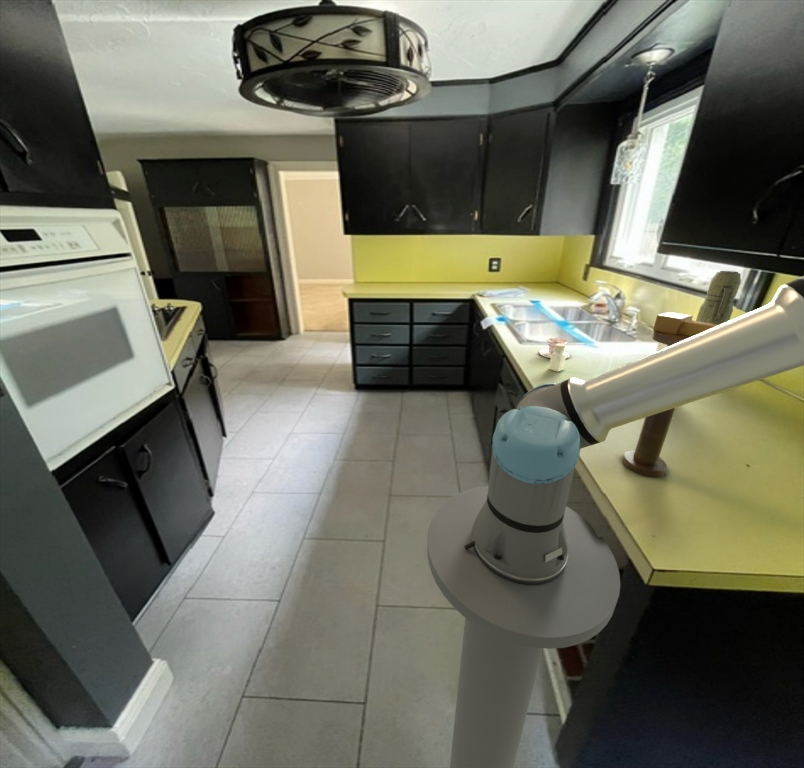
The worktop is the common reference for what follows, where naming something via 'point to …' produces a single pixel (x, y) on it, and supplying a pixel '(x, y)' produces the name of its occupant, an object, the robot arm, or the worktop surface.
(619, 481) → the worktop surface
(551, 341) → the teacup
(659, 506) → the worktop surface
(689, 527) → the worktop surface
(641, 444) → the dark brown spool
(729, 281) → the greenish-grey tall rounded piece
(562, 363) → the pepper shaker
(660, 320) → the wooden t-shaped block
